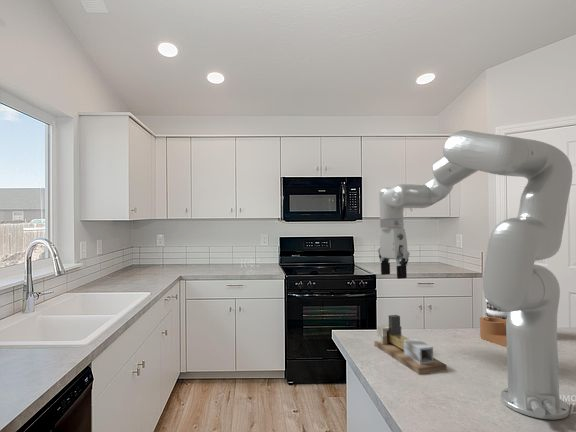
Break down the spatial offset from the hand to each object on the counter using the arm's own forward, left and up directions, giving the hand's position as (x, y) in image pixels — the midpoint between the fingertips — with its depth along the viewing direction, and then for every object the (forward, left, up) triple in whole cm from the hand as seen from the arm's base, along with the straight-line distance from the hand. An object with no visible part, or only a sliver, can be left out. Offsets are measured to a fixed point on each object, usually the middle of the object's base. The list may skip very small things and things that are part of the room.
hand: (393, 276), depth 117 cm
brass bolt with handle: (-3, -2, -22) cm, 22 cm away
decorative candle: (+29, -35, -24) cm, 52 cm away
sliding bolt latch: (-5, -4, -24) cm, 25 cm away
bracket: (+18, -36, -25) cm, 47 cm away
